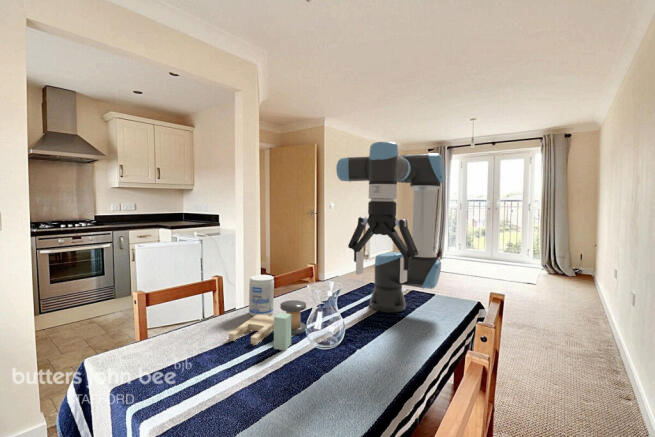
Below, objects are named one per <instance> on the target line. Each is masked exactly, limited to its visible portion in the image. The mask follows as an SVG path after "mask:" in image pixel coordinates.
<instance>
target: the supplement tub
mask: <svg viewBox="0 0 655 437" xmlns="http://www.w3.org/2000/svg"><path fill="white" fill-rule="evenodd" d="M274 279H275V278H274V275H273V276H272V275H269V274H257V275H252V276H250V277H249V284H248V285H249V290H248V292H249V293H248V294H249V296H248V297H249V298H248V302H249V303H248V305H249V306H248V313H249V315H250V316H252V317H254V316H255V315H256V314H261V315H268V316H272V314H273V313H274V300H275V295H274V294H275V293H274V292H275V280H274Z"/></svg>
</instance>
